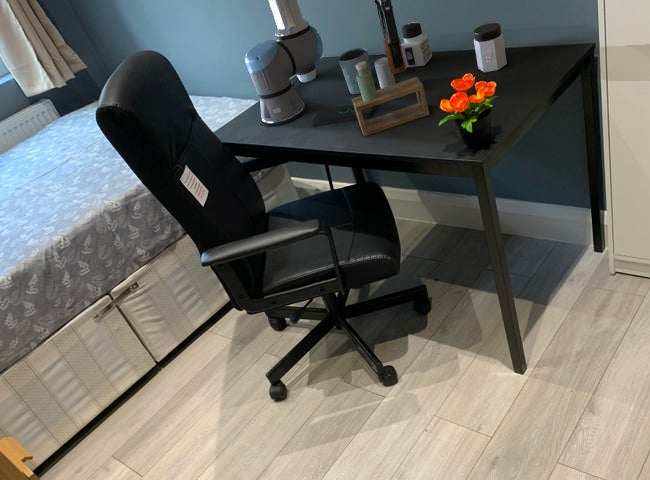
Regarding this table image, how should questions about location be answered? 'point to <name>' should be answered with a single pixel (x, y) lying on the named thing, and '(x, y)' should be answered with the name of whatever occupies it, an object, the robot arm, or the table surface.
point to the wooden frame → (396, 116)
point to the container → (415, 45)
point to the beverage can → (384, 73)
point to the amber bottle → (391, 56)
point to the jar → (489, 47)
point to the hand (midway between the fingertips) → (397, 64)
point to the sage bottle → (365, 82)
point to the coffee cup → (307, 74)
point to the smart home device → (340, 114)
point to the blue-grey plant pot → (353, 66)
